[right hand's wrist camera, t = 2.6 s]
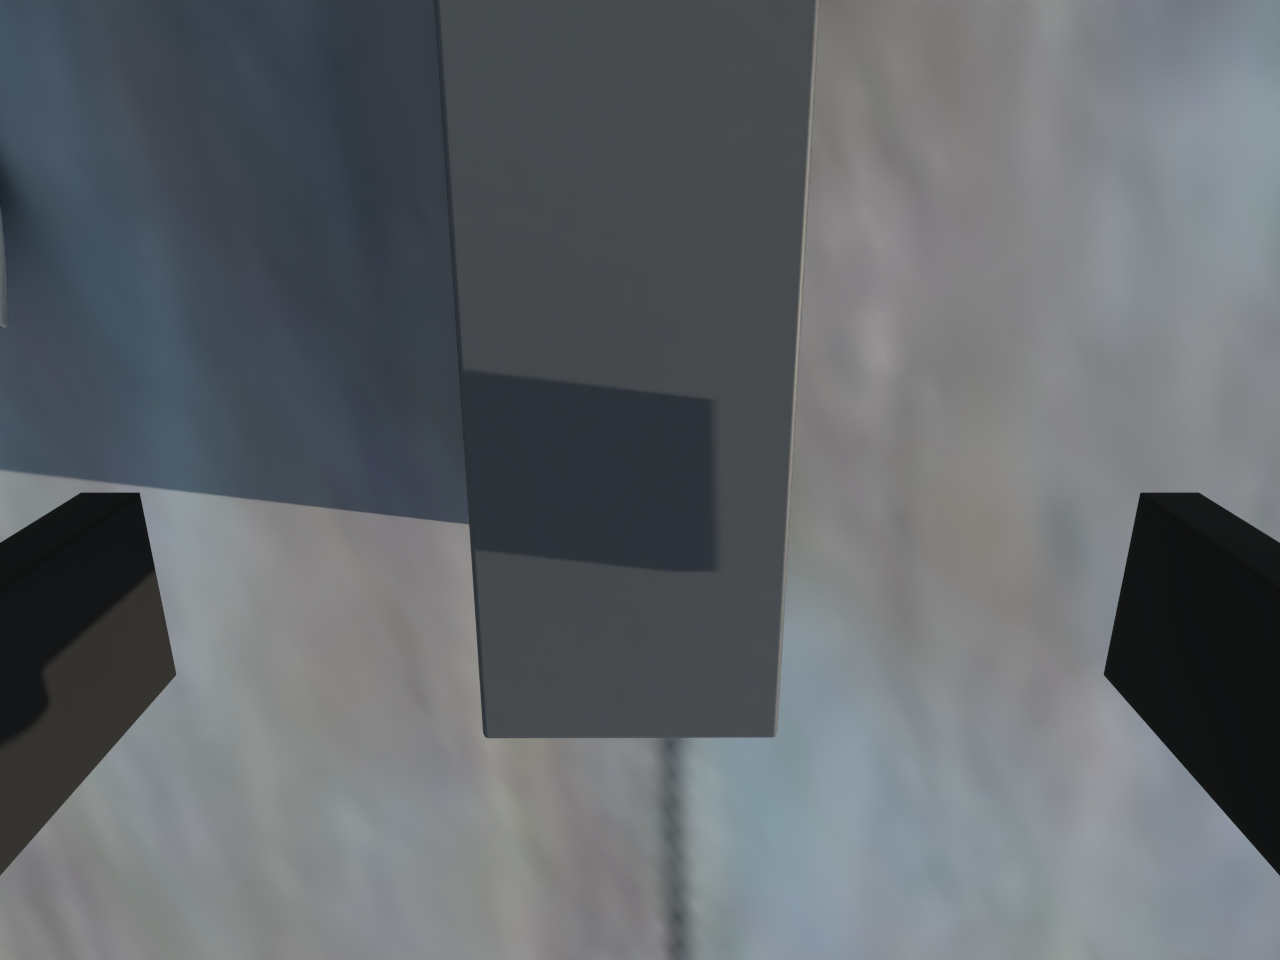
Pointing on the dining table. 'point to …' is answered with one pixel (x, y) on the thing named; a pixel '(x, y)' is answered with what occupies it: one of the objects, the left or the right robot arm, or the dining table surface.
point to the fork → (3, 280)
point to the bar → (628, 352)
